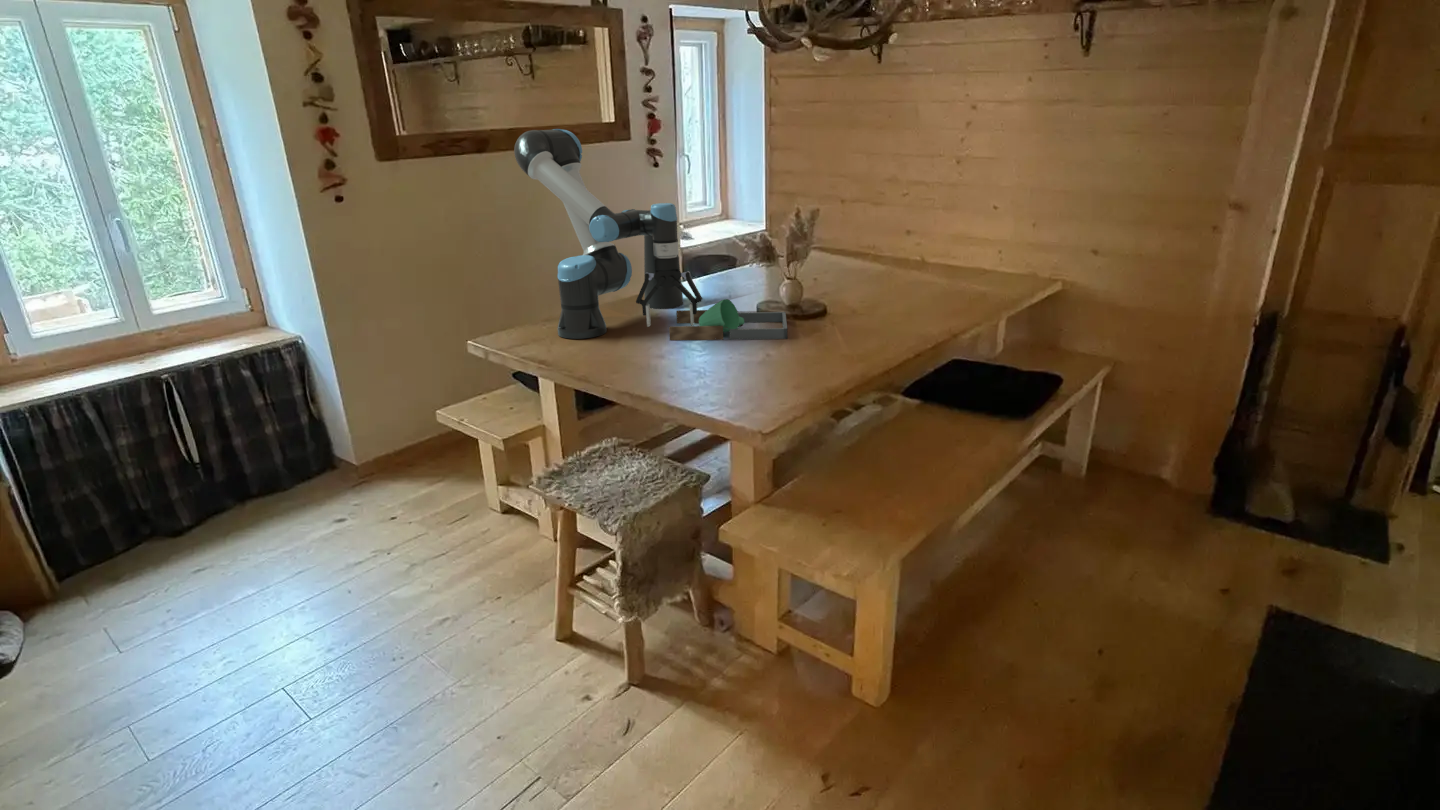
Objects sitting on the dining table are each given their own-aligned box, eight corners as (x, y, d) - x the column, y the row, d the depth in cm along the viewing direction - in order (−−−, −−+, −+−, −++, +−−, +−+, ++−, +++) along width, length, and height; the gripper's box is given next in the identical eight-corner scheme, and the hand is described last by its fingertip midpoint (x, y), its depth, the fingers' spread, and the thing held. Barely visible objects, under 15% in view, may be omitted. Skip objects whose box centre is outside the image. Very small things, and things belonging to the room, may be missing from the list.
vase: (660, 313, 270) (655, 227, 261) (637, 307, 280) (631, 224, 270) (691, 306, 279) (687, 223, 269) (667, 301, 288) (663, 220, 279)
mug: (695, 336, 239) (722, 327, 233) (691, 305, 241) (718, 295, 235) (723, 344, 250) (749, 335, 245) (719, 314, 252) (745, 305, 247)
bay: (669, 340, 237) (669, 327, 235) (677, 322, 257) (676, 310, 256) (723, 339, 236) (722, 326, 234) (726, 321, 256) (726, 309, 255)
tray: (729, 339, 236) (729, 329, 235) (732, 321, 256) (732, 312, 255) (787, 338, 235) (787, 328, 234) (785, 321, 255) (785, 311, 254)
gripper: (623, 259, 236) (628, 328, 243) (706, 256, 235) (709, 326, 242) (627, 255, 244) (632, 323, 251) (708, 253, 242) (711, 321, 249)
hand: (670, 325), depth 246 cm, fingers open, 13 cm apart
